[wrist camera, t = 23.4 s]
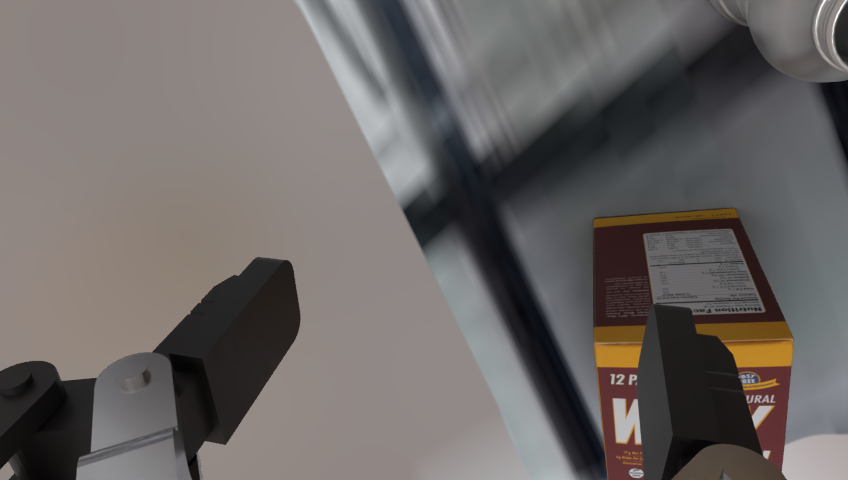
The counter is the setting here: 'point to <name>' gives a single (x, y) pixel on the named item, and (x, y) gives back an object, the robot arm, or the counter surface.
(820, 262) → the counter surface
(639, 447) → the supplement box
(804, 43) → the plastic bottle
